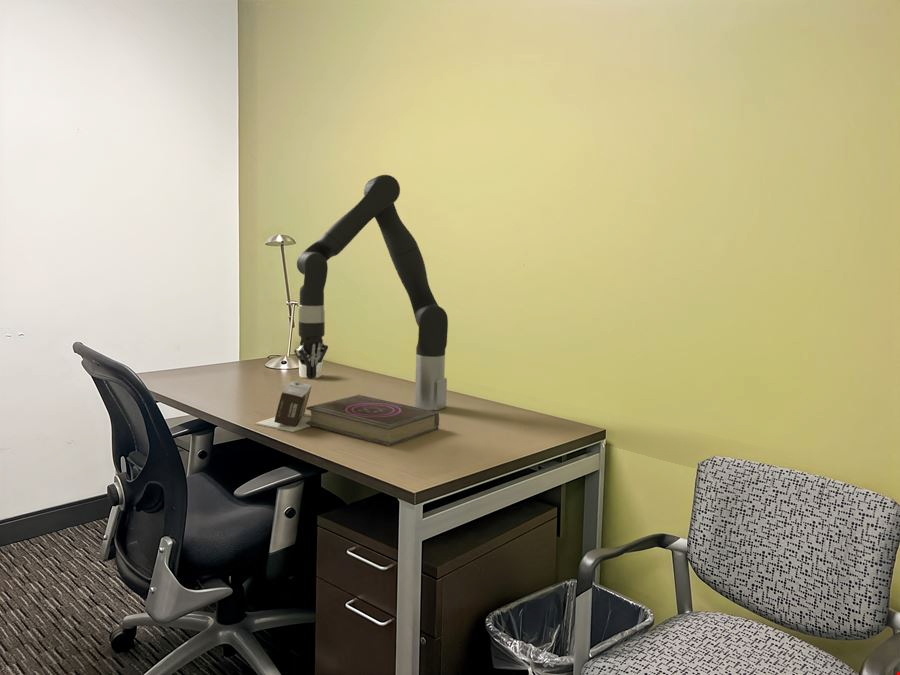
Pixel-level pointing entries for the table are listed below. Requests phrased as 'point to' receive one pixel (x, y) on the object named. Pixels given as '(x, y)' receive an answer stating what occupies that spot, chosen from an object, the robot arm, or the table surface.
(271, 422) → the mat
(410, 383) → the table surface
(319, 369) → the mug
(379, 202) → the robot arm
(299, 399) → the coffee box
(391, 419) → the book
